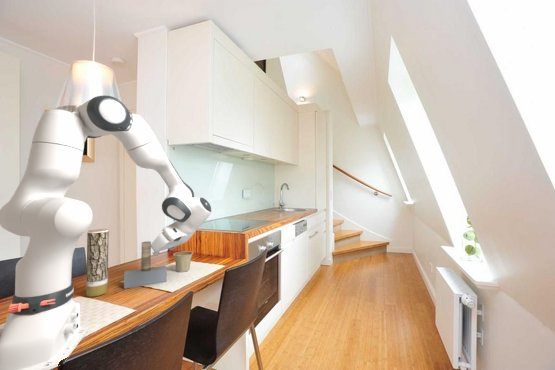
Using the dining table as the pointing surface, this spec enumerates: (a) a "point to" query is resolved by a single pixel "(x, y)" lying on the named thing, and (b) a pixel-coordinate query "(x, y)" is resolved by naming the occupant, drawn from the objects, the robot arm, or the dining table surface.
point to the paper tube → (97, 262)
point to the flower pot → (183, 260)
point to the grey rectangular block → (144, 277)
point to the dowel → (146, 256)
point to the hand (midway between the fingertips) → (162, 251)
